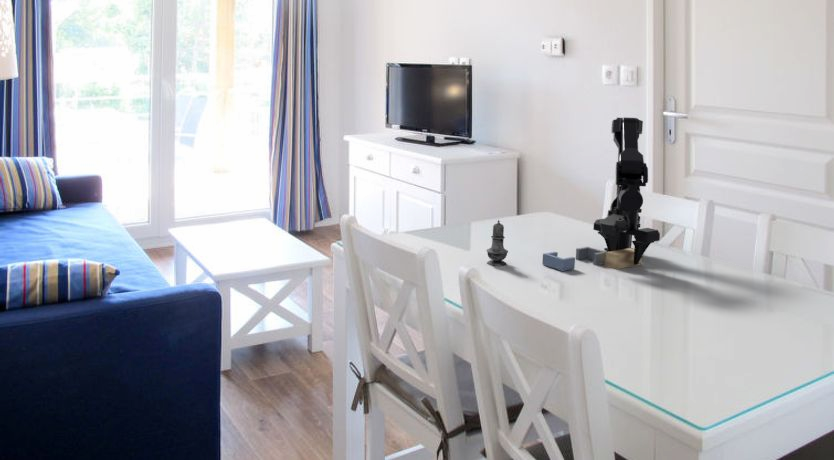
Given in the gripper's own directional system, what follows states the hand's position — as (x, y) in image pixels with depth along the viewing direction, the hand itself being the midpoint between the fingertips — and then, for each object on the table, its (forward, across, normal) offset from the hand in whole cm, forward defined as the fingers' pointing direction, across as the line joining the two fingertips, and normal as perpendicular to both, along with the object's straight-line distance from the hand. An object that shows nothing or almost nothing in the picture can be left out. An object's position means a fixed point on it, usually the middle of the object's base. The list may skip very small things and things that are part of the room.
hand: (623, 261), depth 241 cm
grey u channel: (+1, -8, -4) cm, 9 cm away
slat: (+1, 0, 0) cm, 1 cm away
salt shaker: (+1, -19, -29) cm, 35 cm away
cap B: (+1, -8, -18) cm, 19 cm away
